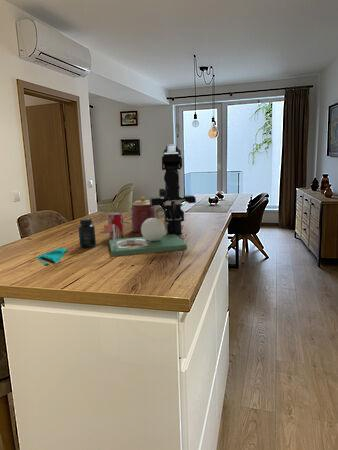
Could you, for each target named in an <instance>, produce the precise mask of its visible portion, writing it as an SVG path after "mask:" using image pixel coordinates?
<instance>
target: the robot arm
mask: <svg viewBox="0 0 338 450" xmlns="http://www.w3.org/2000/svg"><path fill="white" fill-rule="evenodd" d="M182 168H183V157H182V151H181V150H180V149H179V148H178V144H167V145H166V148H165V149H164V150H163V153H162V155H161V170H162V171H165V172H164V176H163V181H164V182H165V186H164V188H159V189H158V195H159V196H158V197H157V196H155V197H150V198H149V200H150V205H152V206H155V207H156V206H161V204H162V205H163V206H164V207H165V209H164V214H165V215H164V219H165V221H164V222H165V223H166V224H165V226H166V228H165V230H166V234H167V235H172V234H175V235H183V232H182V222H185V212H184V210H183V208H182V207H183V206H184V205H183V203H185V202H186V203H188V204H196V203H197V199H196V197H195V195H192V194H191V195H188V194H187V195H183V196H182V197H181V195H180V176H179V175H180V174H179V171H178V170H181V169H182Z"/></svg>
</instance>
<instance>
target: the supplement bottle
mask: <svg viewBox="0 0 338 450" xmlns="http://www.w3.org/2000/svg"><path fill="white" fill-rule="evenodd" d="M92 223H93V220H92V218H82V219H81V218H80V220H79V224H80V225H79V226H78V238H79V246H80V248H81V249H91V248H94V247H96V245H97V242H96V240H97V239H96V230H95V229H96V228H95V226H94V224H92Z"/></svg>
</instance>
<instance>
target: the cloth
mask: <svg viewBox="0 0 338 450" xmlns="http://www.w3.org/2000/svg"><path fill="white" fill-rule="evenodd" d="M67 251H69V249H66V248H65V247H61V248H58V249H53V250H51V251H48V252H45V253H43V254H40V255H37V256H36V259H37V260H38V261H39V262H40V263H41V264H43V263H44V264H43V266H45V265H46V266H48V264H47V263H48V262H47V261H44V259H45V260H48V261H51V262H52V263H55V264H57V263H58V262H60V261H61V260H62V259H63V258H61V257H62V256H63V257H64V254H65V252H67ZM42 261H43V262H42ZM46 262H47V263H46ZM56 262H57V263H56Z"/></svg>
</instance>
